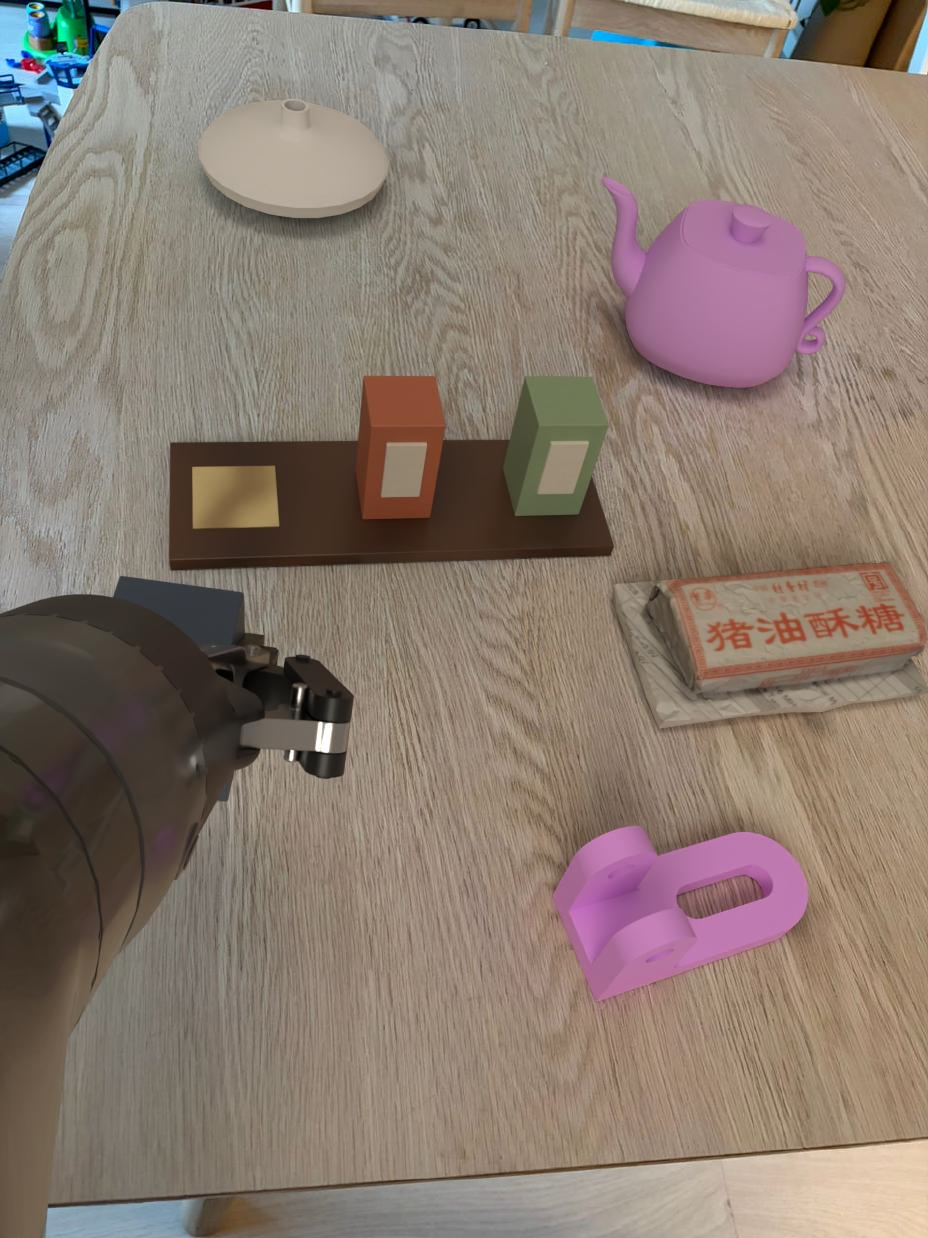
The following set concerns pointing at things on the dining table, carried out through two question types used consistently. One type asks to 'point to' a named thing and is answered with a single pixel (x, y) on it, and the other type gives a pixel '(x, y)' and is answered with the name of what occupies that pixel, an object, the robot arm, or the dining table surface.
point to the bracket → (670, 905)
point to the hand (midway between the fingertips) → (187, 651)
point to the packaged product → (772, 641)
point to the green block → (554, 445)
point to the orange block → (399, 446)
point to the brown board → (354, 510)
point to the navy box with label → (191, 614)
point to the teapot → (719, 291)
